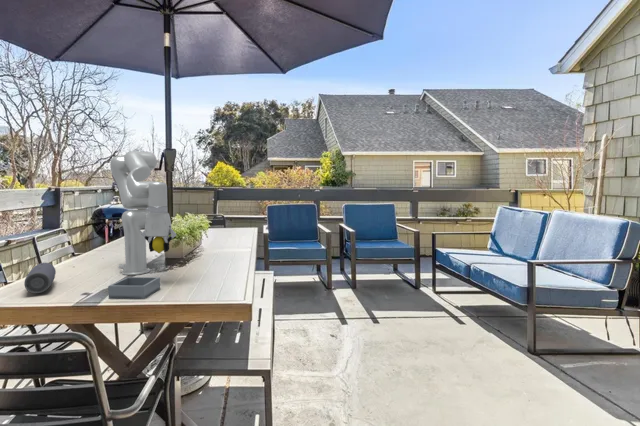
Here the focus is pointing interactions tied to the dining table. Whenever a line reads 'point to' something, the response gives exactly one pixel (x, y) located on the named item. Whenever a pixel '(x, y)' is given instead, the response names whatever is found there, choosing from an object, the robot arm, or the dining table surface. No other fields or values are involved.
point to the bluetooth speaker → (40, 278)
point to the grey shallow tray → (134, 288)
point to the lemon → (158, 244)
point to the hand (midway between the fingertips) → (159, 250)
